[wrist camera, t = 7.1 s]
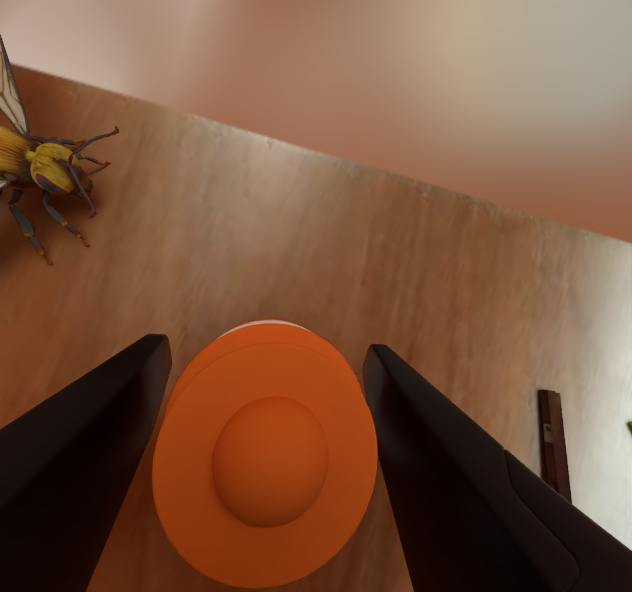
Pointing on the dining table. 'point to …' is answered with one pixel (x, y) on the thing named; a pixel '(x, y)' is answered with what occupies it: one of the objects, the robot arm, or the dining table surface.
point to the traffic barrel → (264, 456)
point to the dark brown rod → (555, 443)
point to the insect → (37, 159)
